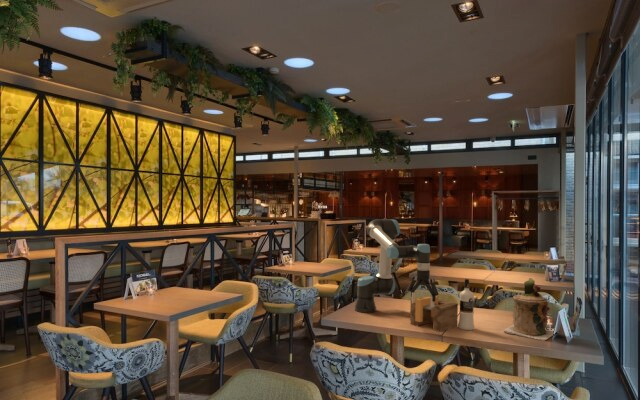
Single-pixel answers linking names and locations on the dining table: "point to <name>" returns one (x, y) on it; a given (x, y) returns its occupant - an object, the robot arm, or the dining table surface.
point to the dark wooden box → (438, 315)
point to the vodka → (466, 308)
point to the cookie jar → (530, 314)
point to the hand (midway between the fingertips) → (422, 305)
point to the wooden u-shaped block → (419, 307)
